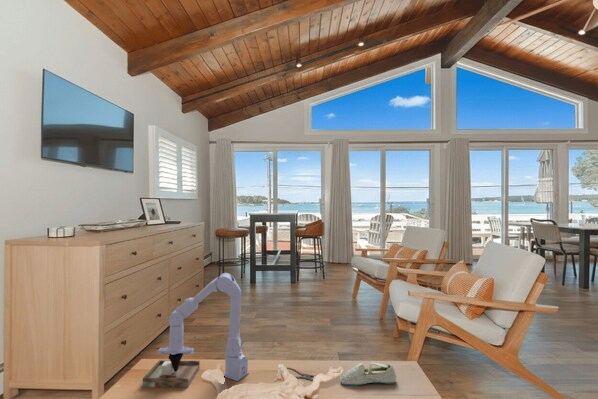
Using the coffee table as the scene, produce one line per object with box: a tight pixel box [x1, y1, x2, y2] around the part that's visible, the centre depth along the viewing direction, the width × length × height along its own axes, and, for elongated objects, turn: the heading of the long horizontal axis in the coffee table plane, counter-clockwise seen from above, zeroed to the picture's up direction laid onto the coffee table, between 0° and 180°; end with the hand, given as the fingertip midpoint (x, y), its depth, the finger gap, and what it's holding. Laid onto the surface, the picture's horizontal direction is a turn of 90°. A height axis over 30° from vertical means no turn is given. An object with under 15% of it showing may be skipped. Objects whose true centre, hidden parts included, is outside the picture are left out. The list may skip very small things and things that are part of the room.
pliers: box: [287, 367, 315, 382], centre depth 146 cm, size 10×1×20 cm
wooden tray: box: [142, 359, 201, 388], centre depth 142 cm, size 18×16×4 cm
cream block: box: [161, 361, 174, 375], centre depth 142 cm, size 4×4×4 cm
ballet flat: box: [339, 362, 397, 387], centre depth 141 cm, size 9×24×8 cm, turn 95°
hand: (176, 370), depth 142 cm, fingers closed
